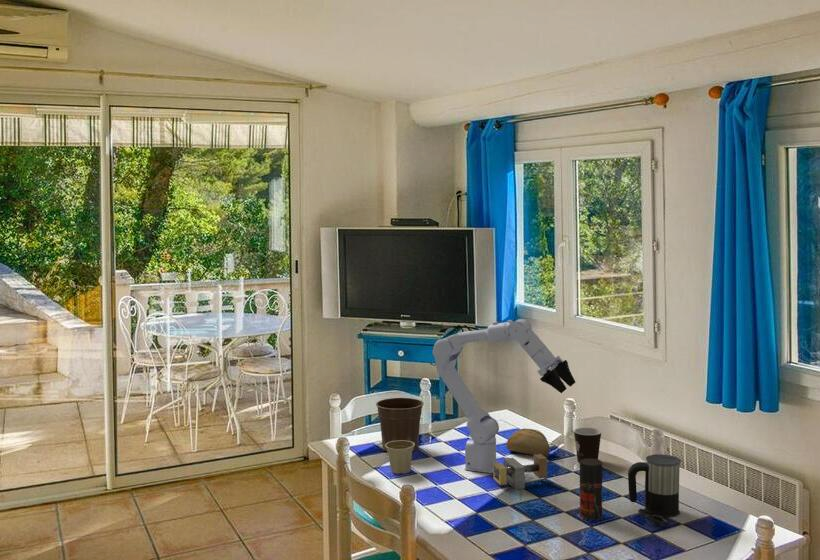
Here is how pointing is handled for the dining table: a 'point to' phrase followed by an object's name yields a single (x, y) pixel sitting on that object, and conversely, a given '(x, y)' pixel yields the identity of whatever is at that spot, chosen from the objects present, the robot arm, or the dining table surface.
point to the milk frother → (657, 487)
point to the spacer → (500, 473)
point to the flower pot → (400, 455)
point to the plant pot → (400, 419)
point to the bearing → (515, 473)
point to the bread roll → (528, 442)
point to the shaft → (532, 467)
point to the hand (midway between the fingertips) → (568, 387)
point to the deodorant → (591, 489)
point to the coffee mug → (587, 443)
